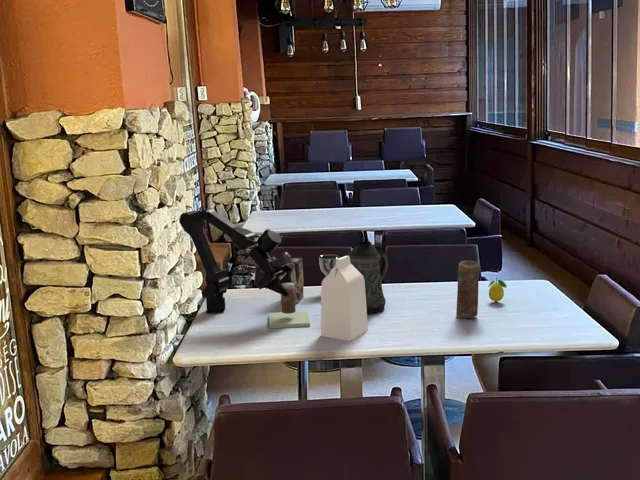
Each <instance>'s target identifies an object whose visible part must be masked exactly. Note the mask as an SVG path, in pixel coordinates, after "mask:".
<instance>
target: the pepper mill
mask: <svg viewBox="0 0 640 480" xmlns="http://www.w3.org/2000/svg"><path fill="white" fill-rule="evenodd" d="M282 286H283V287H284V289H285V290H286V291H287V293H288V296H287V297H286V296H283V295H281V294H280V308H281V309H280V311H281V312H282V313H286V314H290V313H294V312H297V311H296V303H295V288H294V283H282ZM281 312H280V313H281Z"/></svg>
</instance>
